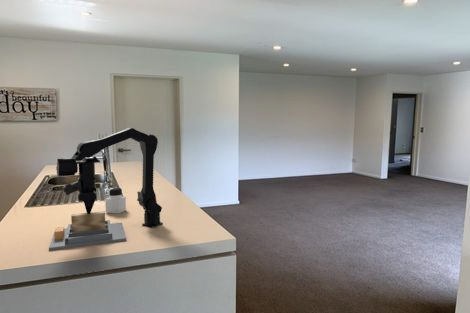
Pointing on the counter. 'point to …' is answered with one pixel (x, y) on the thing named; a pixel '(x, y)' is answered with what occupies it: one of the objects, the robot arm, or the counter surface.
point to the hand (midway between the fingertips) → (88, 213)
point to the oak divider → (88, 221)
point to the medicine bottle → (115, 201)
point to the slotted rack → (87, 236)
